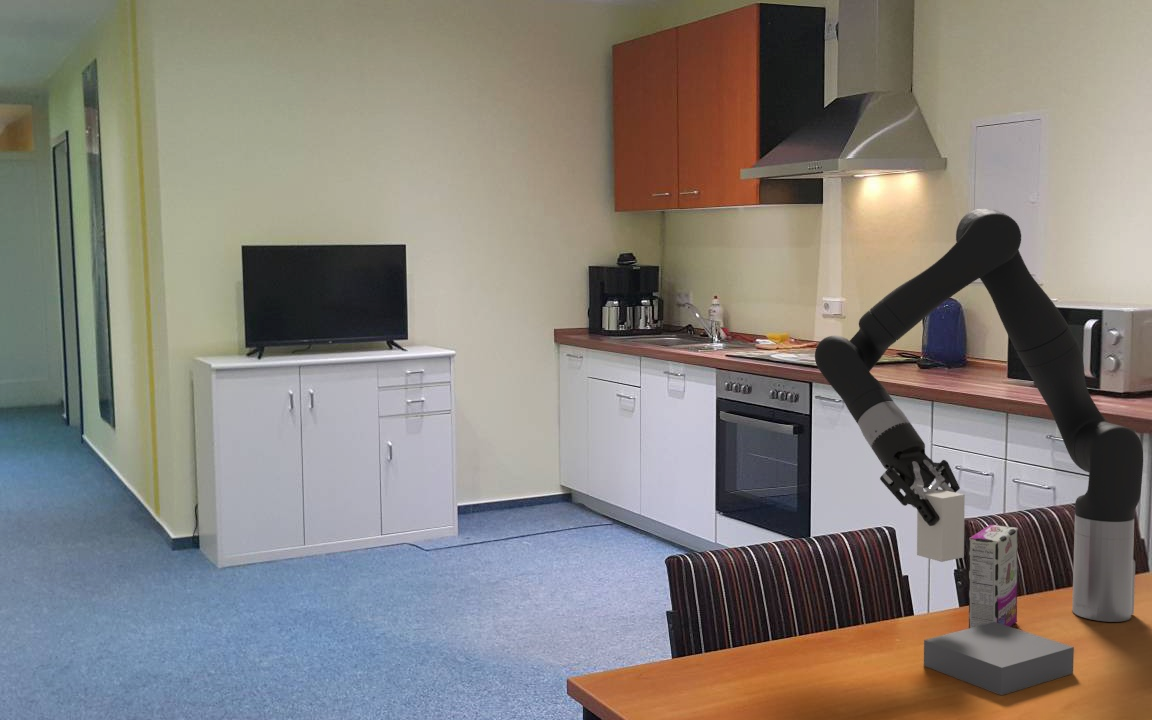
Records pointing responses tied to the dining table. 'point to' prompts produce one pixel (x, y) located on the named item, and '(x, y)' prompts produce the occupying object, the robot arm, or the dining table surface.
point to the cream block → (942, 527)
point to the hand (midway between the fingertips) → (947, 520)
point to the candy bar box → (993, 576)
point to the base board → (998, 657)
